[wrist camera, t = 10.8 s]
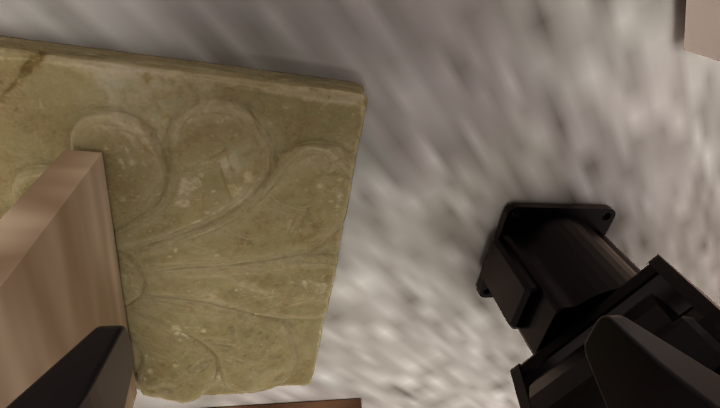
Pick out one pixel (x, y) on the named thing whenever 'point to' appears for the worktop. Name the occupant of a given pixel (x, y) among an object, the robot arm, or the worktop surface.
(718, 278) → the worktop surface
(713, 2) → the ring with crossbar
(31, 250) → the birch sheet
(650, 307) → the robot arm
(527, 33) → the worktop surface
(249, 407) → the walnut rack
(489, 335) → the worktop surface
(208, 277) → the decorative tile
